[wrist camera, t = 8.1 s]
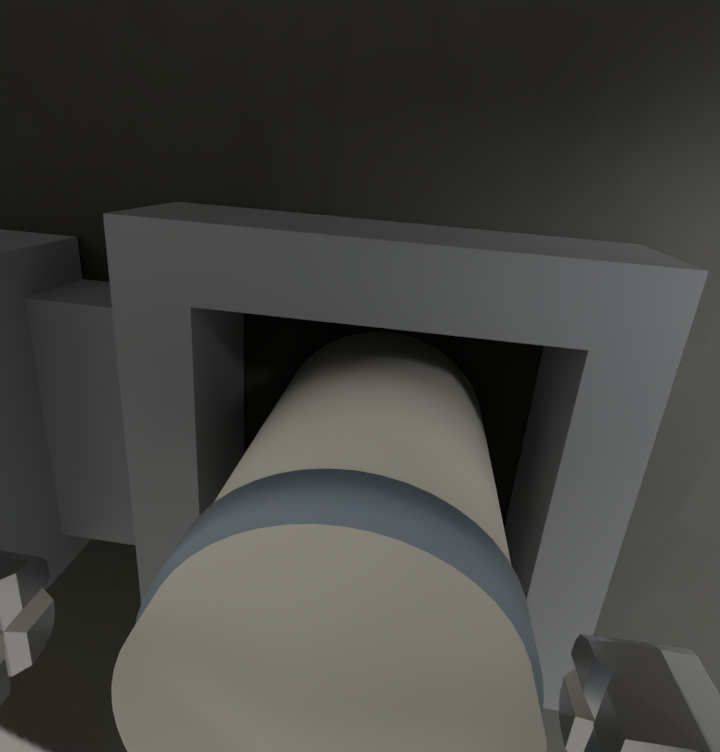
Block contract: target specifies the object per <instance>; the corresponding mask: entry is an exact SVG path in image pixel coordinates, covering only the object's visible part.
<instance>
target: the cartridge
mask: <svg viewBox="0 0 720 752" xmlns="http://www.w3.org/2000/svg"><path fill="white" fill-rule="evenodd" d="M111 693H112V709H113V713H114V718H115V722H116V726H117V729H118V731H119V734H120V737H121V739H122V742H123V744H124V746H125V748H126V750H127V752H546V750H547V742H546V736H545V731H544V726H543V721H542V716H541V715H542V710H543V704H544V682H543V677H542V672H541V666H540V661H539V656H538V652H537V647H536V643H535V638H534V634H533V629H532V624H531V620H530V615H529V611H528V606H527V601H526V597H525V594H524V592H523V589H522V586H521V584H520V581H519V578H518V576H517V574H516V573H515V571H514V569H513V567H512V566H511V561H510V556H509V551H508V546H507V541H506V536H505V531H504V526H503V521H502V516H501V511H500V506H499V501H498V496H497V491H496V486H495V481H494V476H493V471H492V466H491V461H490V456H489V451H488V446H487V441H486V436H485V431H484V426H483V421H482V416H481V411H480V406H479V402H478V399H477V396H476V394H475V391H474V389H473V387H472V385H471V384H470V382H469V380H468V379H467V377H466V376H465V374H464V373H463V372H462V370H461V369H460V368H459V367H458V366H457V365H456V364H455V363H454V362H453V361H452V360H451V359H450V358H449V357H447V356H446V355H445V354H444V353H442V352H441V351H440V350H438V349H436V348H435V347H433V346H431V345H430V344H427V343H425V342H423V341H421V340H419V339H416V338H413V337H409V336H406V335H402V334H397V333H391V332H366V333H359V334H354V335H349V336H346V337H343V338H341V339H338V340H335V341H333V342H331V343H329V344H328V345H326V346H324V347H322V348H321V349H320V350H318V351H317V352H315V353H314V354H313V355H312V356H311V357H310V358H309V359H307V360H306V361H305V362H304V364H303V365H302V366H301V367H300V369H299V370H298V371H297V372H296V374H295V376H294V377H293V379H292V380H291V382H290V383H289V385H288V387H287V388H286V390H285V391H284V393H283V394H282V396H281V398H280V399H279V401H278V402H277V404H276V405H275V407H274V409H273V410H272V412H271V413H270V415H269V416H268V418H267V419H266V421H265V423H264V424H263V426H262V427H261V429H260V430H259V432H258V434H257V435H256V437H255V438H254V440H253V441H252V443H251V445H250V446H249V448H248V449H247V451H246V452H245V454H244V456H243V457H242V459H241V460H240V462H239V463H238V465H237V466H236V468H235V470H234V471H233V473H232V474H231V476H230V477H229V479H228V481H227V482H226V484H225V485H224V487H223V488H222V490H221V492H220V493H219V495H218V496H217V498H216V499H215V501H214V503H213V504H212V505H211V506H209V507H208V508H207V509H206V510H205V511H204V512H203V513H201V514H200V515H199V517H198V518H197V519H196V520H195V521H194V523H193V524H192V525H191V526H190V527H189V529H188V530H187V531H186V533H185V534H184V536H183V537H182V539H181V540H180V542H179V543H178V545H177V546H176V548H175V549H174V551H173V552H172V554H171V555H170V557H169V558H168V560H167V561H166V563H165V564H164V566H163V567H162V569H161V571H160V572H159V574H158V575H157V577H156V578H155V580H154V581H153V583H152V584H151V586H150V588H149V590H148V591H147V593H146V595H145V597H144V598H143V601H142V603H141V606H140V609H139V612H138V615H137V618H136V624H135V626H134V628H133V629H132V631H131V633H130V634H129V636H128V638H127V639H126V641H125V643H124V645H123V646H122V648H121V650H120V652H119V655H118V658H117V661H116V664H115V667H114V671H113V679H112V686H111Z"/></svg>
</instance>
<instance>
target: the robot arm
mask: <svg viewBox="0 0 720 752" xmlns="http://www.w3.org/2000/svg"><path fill="white" fill-rule="evenodd" d="M49 579H50V573H49V568H48V564H47V560H45V559H42V558H40V557H37V556H31V555H26V554H20V553H14V552H8V551H2V550H0V705H1V704H2V703H3V702H4V700H5V699H6V698H7V697H8V695H9V694H10V693H11V685H12V676H14V675H16V674H17V673H19V672H21V671H23V670H24V669H26V668H28V667H30V666H31V665H33V663H34V662H35V661H36V659H37V658H38V657H39V655H40V654H41V653H42V651H43V650H44V649H45V646H46V644H47V642H48V639H49V637H50V635H51V633H52V630H53V627H54V620H55V606H54V600H53V599H52V598H51V597H50V595H49V594H48V593H47V592H46V591H45V590H44V588H43V586H44V585H45V584H46V583H47V581H48V580H49ZM571 655H572V659H573V662H574V665H575V669H573V670H572V671H571V672H569V673H568V674H566V675H565V676H564V678H563V682H562V686H561V690H560V694H559V719H560V727H561V732H562V737H563V741H564V745H565V748H566V750H567V751H568V752H720V694H719V693H718V691H717V689H716V688H715V686H714V684H713V682H712V681H711V679H710V677H709V676H708V674H707V672H706V671H705V669H704V667H703V665H702V664H701V662H700V660H699V659H698V657H697V655H696V654H695V653H694V652H692V651H691V650H690V649H689V648H684V647H676V646H669V645H661V644H653V643H652V644H648V643H644V642H636V641H629V640H622V639H614V638H607V637H599V636H592V635H584V634H580V635H579V636H578V638H577V639H576V640H575V642H574V645H573V649H572V652H571Z"/></svg>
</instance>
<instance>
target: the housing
mask: <svg viewBox="0 0 720 752" xmlns="http://www.w3.org/2000/svg"><path fill="white" fill-rule="evenodd" d="M103 220H104V230H105V240H106V250H107V260H108V271H109V281H110V282H105V281H96V280H86V279H82V272H81V263H80V255H79V246H78V237H75V236H65V235H55V234H44V233H34V232H24V231H14V230H4V229H0V550H2V551H8V552H14V553H20V554H26V555H31V556H37V557H40V558H42V559H45V560H47V564H48V568H49V573H50V579H49V580H48V581H47V583H46V584H45V585H44V586H43V588H44V590H45V591H46V590H47V589H48V588H49V587H50V585H51V584H52V583H53V582H54V581H55V580H56V579H57V578H58V577H59V575H60V574H61V573H62V572H63V571H64V570H65V569H66V568H67V567H68V565H69V564H70V563H71V562H72V561H73V560H74V559H75V558H76V556H77V555H78V554H79V553H80V552H81V551H82V550H83V549H84V548H85V546H86V545H87V544H88V543H89V542H90V541H91V540H92V539H96V540H103V541H110V542H117V543H123V544H130V545H135V546H136V556H137V566H138V576H139V586H140V597H141V603H142V601H143V598H144V597H145V595H146V593H147V591H148V590H149V588H150V586H151V584H152V583H153V581H154V580H155V578H156V577H157V575H158V574H159V572H160V571H161V569H162V567H163V566H164V564H165V563H166V561H167V560H168V558H169V557H170V555H171V554H172V552H173V551H174V549H175V548H176V546H177V545H178V543H179V542H180V540H181V539H182V537H183V536H184V534H185V533H186V531H187V530H188V529H189V527H190V526H191V525H192V524H193V523H194V521H195V520H196V519H197V518H198V517H199V515H200V514H201V513H203V512H204V511H205V510H206V509H207V508H208V507H209V506H211V505H212V504H213V503H214V501H215V499H216V498H217V496H218V495H219V493H220V492H221V490H222V488H223V487H224V485H225V484H226V482H227V481H228V479H229V477H230V476H231V474H232V473H233V471H234V470H235V468H236V466H237V465H238V463H239V462H240V460H241V459H242V457H243V456H244V313H249V314H258V315H267V316H277V317H286V318H295V319H304V320H313V321H323V322H332V323H341V324H350V325H359V326H368V327H378V328H387V329H396V330H405V331H414V332H424V333H433V334H442V335H451V336H460V337H470V338H479V339H488V340H497V341H506V342H515V343H525V344H534V345H543V351H542V355H541V360H540V365H539V369H538V374H537V379H536V383H535V388H534V393H533V397H532V402H531V407H530V411H529V416H528V421H527V425H526V430H525V435H524V439H523V444H522V449H521V453H520V458H519V463H518V467H517V472H516V477H515V481H514V486H513V490H512V495H511V500H510V504H509V509H508V514H507V518H506V523H505V528H504V531H505V536H506V541H507V546H508V551H509V556H510V561H511V566H512V567H513V569H514V571H515V573H516V574H517V576H518V578H519V581H520V584H521V586H522V589H523V592H524V594H525V597H526V601H527V606H528V611H529V615H530V620H531V624H532V629H533V634H534V638H535V643H536V647H537V652H538V656H539V661H540V666H541V672H542V677H543V682H544V704H543V708H546V709H552V710H558V711H559V694H560V690H561V686H562V682H563V678H564V676H565V675H566V674H568V673H569V672H571V671H572V670H573V669H575V665H574V662H573V659H572V655H571V652H572V649H573V645H574V642H575V640H576V639H577V638H578V636H579V635H580V634H584V635H592V636H593V634H594V630H595V627H596V624H597V621H598V618H599V615H600V612H601V608H602V605H603V602H604V599H605V596H606V593H607V590H608V587H609V583H610V580H611V577H612V574H613V571H614V568H615V565H616V561H617V558H618V555H619V552H620V549H621V546H622V543H623V539H624V536H625V533H626V530H627V527H628V524H629V521H630V517H631V514H632V511H633V508H634V505H635V502H636V499H637V495H638V492H639V489H640V486H641V483H642V480H643V477H644V473H645V470H646V467H647V464H648V461H649V458H650V455H651V451H652V448H653V445H654V442H655V439H656V436H657V433H658V429H659V426H660V423H661V420H662V417H663V414H664V411H665V407H666V404H667V401H668V398H669V395H670V392H671V389H672V386H673V382H674V379H675V376H676V373H677V370H678V367H679V364H680V360H681V357H682V354H683V351H684V348H685V345H686V342H687V338H688V335H689V332H690V329H691V326H692V323H693V320H694V316H695V313H696V310H697V307H698V304H699V301H700V298H701V294H702V291H703V288H704V285H705V282H706V279H707V276H708V272H709V271H708V270H705V269H703V268H700V267H697V266H695V265H692V264H690V263H687V262H685V261H682V260H680V259H677V258H675V257H672V256H669V255H667V254H664V253H662V252H659V251H657V250H654V249H652V248H649V247H646V246H644V245H641V244H633V243H622V242H611V241H600V240H590V239H579V238H568V237H557V236H546V235H535V234H524V233H514V232H503V231H492V230H481V229H470V228H459V227H448V226H437V225H427V224H416V223H405V222H394V221H383V220H372V219H361V218H351V217H340V216H329V215H318V214H307V213H296V212H285V211H275V210H264V209H253V208H242V207H231V206H220V205H209V204H198V203H188V202H172V203H166V204H160V205H153V206H147V207H140V208H134V209H128V210H121V211H115V212H108V213H103Z"/></svg>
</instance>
